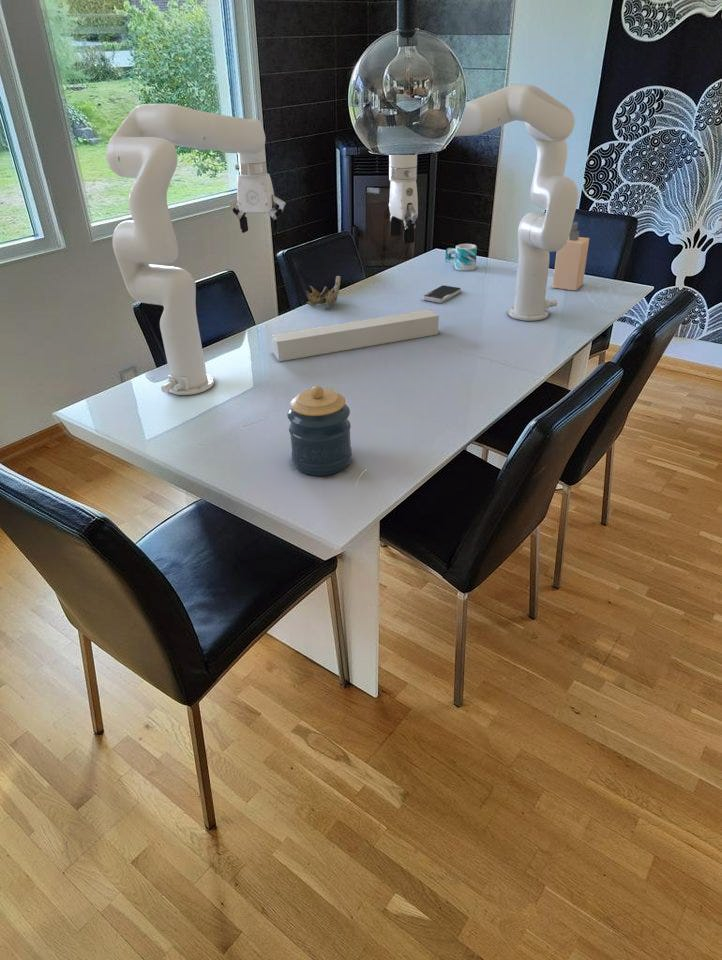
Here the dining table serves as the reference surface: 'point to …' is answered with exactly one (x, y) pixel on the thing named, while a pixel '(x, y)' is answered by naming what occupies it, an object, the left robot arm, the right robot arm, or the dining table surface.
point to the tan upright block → (571, 261)
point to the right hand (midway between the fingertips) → (401, 239)
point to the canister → (320, 432)
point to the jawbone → (324, 295)
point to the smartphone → (441, 294)
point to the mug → (463, 256)
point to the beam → (354, 334)
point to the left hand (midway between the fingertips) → (260, 232)
